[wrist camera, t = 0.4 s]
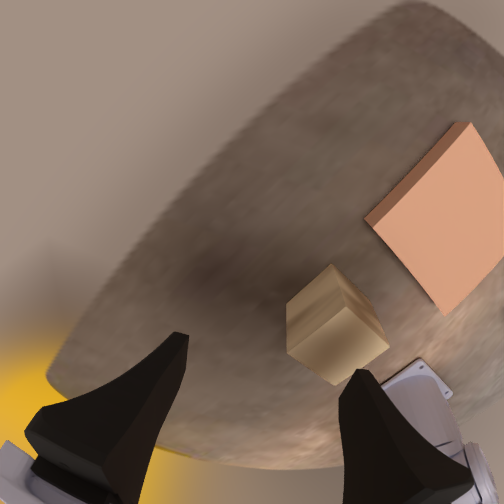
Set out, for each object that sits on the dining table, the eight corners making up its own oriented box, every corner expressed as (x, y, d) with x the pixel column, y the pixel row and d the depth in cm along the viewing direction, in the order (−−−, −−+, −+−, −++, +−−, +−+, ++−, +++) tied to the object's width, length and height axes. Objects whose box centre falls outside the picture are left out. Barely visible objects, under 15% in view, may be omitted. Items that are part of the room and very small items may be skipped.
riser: (511, 221, 17) (525, 228, 15) (434, 303, 21) (444, 316, 19) (455, 122, 15) (470, 122, 13) (363, 218, 19) (372, 227, 17)
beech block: (369, 300, 21) (389, 346, 16) (325, 335, 23) (334, 386, 18) (331, 263, 20) (346, 306, 15) (286, 303, 22) (286, 353, 17)
